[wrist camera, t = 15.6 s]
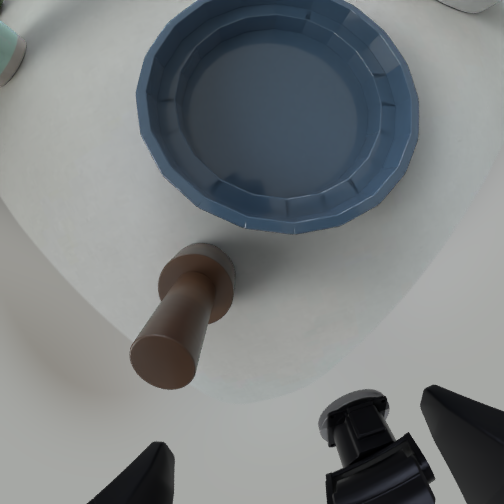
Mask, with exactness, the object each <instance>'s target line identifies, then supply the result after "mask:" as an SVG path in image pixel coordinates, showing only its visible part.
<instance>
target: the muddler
mask: <svg viewBox="0 0 504 504" xmlns="http://www.w3.org/2000/svg"><path fill="white" fill-rule="evenodd" d="M234 286H235V269H234V266H233V263H232V261H231V260H230V258H229V257H228V256H227V254H226V253H225V252H224V251H222V250H221V249H219V248H218V247H216V246H213V245H210V244H205V243H197V244H192V245H189V246H187V247H185V248H183V249H182V250H181V251H180V252H179V253H178V254H177V255H176V256H175V257H174V258H173V259H172V260H171V261H170V262H169V263H168V264H167V265H166V266H165V267H164V269H163V270H162V272H161V274H160V277H159V281H158V292H159V297H160V299H161V303H160V304H159V306H158V307H157V309H156V310H155V312H154V313H153V314H152V316H151V317H150V319H149V320H148V322H147V323H146V325H145V326H144V328H143V329H142V331H141V332H140V333H139V335H138V336H137V338H136V339H135V341H134V342H133V344H132V346H131V348H130V361H131V364H132V366H133V368H134V370H135V371H136V373H137V374H138V375H139V376H140V377H141V378H142V379H143V380H144V381H146V382H148V383H149V384H151V385H153V386H155V387H158V388H162V389H168V390H173V389H179V388H182V387H184V386H186V385H188V384H189V383H190V382H191V381H192V380H193V378H194V376H195V373H196V369H197V365H198V361H199V357H200V353H201V349H202V345H203V341H204V337H205V334H206V330H207V326H208V324H211V323H214V322H216V321H218V320H219V319H221V318H222V317H223V316H224V315H225V314H226V313H227V311H228V310H229V308H230V306H231V304H232V301H233V295H234Z"/></svg>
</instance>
